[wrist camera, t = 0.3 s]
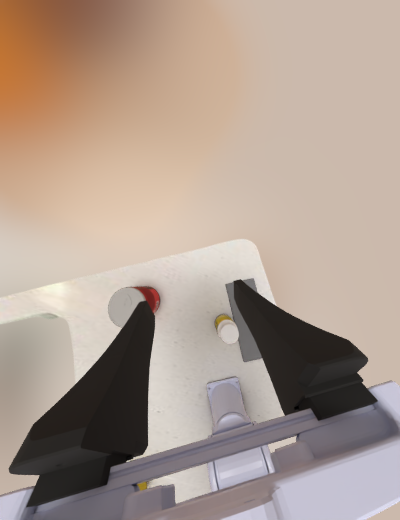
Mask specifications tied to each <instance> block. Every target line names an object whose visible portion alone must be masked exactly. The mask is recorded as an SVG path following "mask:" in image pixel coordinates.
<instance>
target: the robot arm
mask: <svg viewBox="0 0 400 520" xmlns="http://www.w3.org/2000/svg"><path fill="white" fill-rule="evenodd" d="M234 300H235V302H236V305H237V307H238V310H239V311H240V313H241V315H242V317H243V319H244V321H245V323H246V324H247V326H248V328H249V330H250V332H251V334H252V336H253V338H254V340H255V342H256V344H257V347H258V349H259V351H260V354H261V356H262V358H263V361H264V363H265V366H266V368H267V371H268V373H269V376H270V378H271V381H272V383H273V386H274V389H275V391H276V394H277V397H278V399H279V402H280V405H281V408H282V410H283V412H284V414H285V416H283V417H279V418H276V419H272V420H269V421H265V422H262V423H259V424H257V423H256V422H255V421H254V422H252V423H251V420H250V418H249V416H247V413H246V411H245V408H244V404H243V399H242V395H241V390H240V386H239V381H238V378H237V377H233V378H229V379H224V380H220V381H216V382H212V383H208V384H207V390H208V395H209V400H210V406H211V411H212V416H213V424H214V427H212V435H213V436H212V435H209V436H208V439H204V440H201V441H198V442H194V443H191V444H187V445H184V446H181V447H177V448H174V449H170V450H167V451H164V452H160V453H157V454H153V455H150V456H147V457H143V458H140V459H137V460H133V461H130V462H126V461H127V460H131V459H133V457H136V456H140V455H143V453H144V452H145V450H146V448H147V446H148V386H149V367H150V358H151V351H152V344H153V337H154V330H155V315H154V313H153V311H152V309H151V307H150V305H149V303H148V301H147V300H146V301H141V302H139V303H138V305H137V306H136V308H135V309H134V311H133V313H132V314H131V316H130V317H129V319H128V320H127V322H126V323H125V325H124V327H123V328H122V329H121V331H120V332H119V334H118V335H117V336H116V338H115V339H114V341H113V342H112V343H111V345H110V346H109V347H108V348H107V350H106V351H105V352H104V353H103V355H102V356H101V357H100V358H99V359H98V361H97V362H96V363H95V364H94V365H93V366H92V367H91V368H90V369H89V371H88V372H87V373H86V374H85V375H84V376H83V377H82V378H81V379H80V380H79V381H78V382H77V383H76V384H75V385H74V386H73V387H72V388H71V389H70V391H68V392H67V394H65V395H64V396H63V397H62V398H61V399H60V400H59V401H58V402H57V403H56V404H55V405H54V406H53V407H52V408H51V409H50V410H48V411H47V412H46V413H45V414H44V415H43V416H42V417H41V418H40V419H39V420H38V421H37V422H35V423H34V424H33V426H32V428H31V429H30V431H29V433H28V435H27V437H26V439H25V440H24V442H23V444H22V446H21V447H20V449H19V451H18V453H17V455H16V457H15V458H14V460H13V462H12V464H11V465H10V467H9V472H10V473H11V474H18V475H40V476H39V479H38V481H37V483H36V485H35V486H32V487H27V488H23V489H19V490H16V491H12V492H9V493H6V494H3V495H0V520H366V519H368V518H370V517H371V516H373V515H375V514H377V513H379V512H381V511H383V510H385V509H387V508H389V507H390V506H392V505H394V504H396V503H398V502H400V386H399V385H398V384H397V383H395V382H394V381H388V382H385V383H381V384H378V385H374V386H371V387H369V388H366V387H365V386H364V385H363V384H362V382H363V379H362V378H361V377H360V375H359V374H358V373H357V372H358V371H359V370H360V369H361V368H362V367H364V366H365V365H366V364H367V362H368V358H367V357H366V356H365V355H364V354H363V353H362V352H361V351H360V350H359V349H358V348H357V347H356V346H354V345H353V344H352V343H351V342H350V341H349V340H347V339H344V338H342V337H339V336H337V335H334V334H332V333H329V332H326V331H324V330H322V329H319V328H317V327H315V326H313V325H311V324H308V323H306V322H304V321H302V320H300V319H298V318H296V317H294V316H292V315H291V314H289V313H287V312H285V311H284V310H282V309H280V308H279V307H277V306H275V305H274V304H272V303H271V302H269V301H268V300H267V299H265V298H264V297H262V296H261V295H260V294H258V293H257V292H256V291H254V290H253V289H252V288H251V287H249V286H248V285H247V284H246V283H245V282H243V281H242V280H236V281H234ZM236 381H237V382H236ZM209 388H210V389H209ZM252 424H253V425H252ZM297 435H298V436H297ZM294 436H297V437H296V442H295V443H292V444H289V445H286V446H284V447H281V448H278V449H275V452H273V453H270V451H269V448H268V444H271V443H274V442H277V441H281V440H284V439H287V438H290V437H294ZM206 463H207V466H208V474H209V481H210V486H211V491H212V492H211V493H208V494H205V495H202V496H198V497H195V498H192V499H189V500H186V501H183V502H180V503H177V504H176V503H175V486H174V484H172V485H167V486H162V485H160V486H156V487H153V488H149V489H145V490H142V491H140V488H139V486H138V485H137V484H140V483H144V482H147V481H150V480H153V479H157V478H160V477H163V476H166V475H170V474H173V473H176V472H180V471H183V470H186V469H189V468H193V467H196V466H199V465H202V464H206Z"/></svg>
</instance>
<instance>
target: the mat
mask: <svg viewBox="0 0 400 520" xmlns="http://www.w3.org/2000/svg"><path fill="white" fill-rule="evenodd" d="M243 282H245V283H246V284H247V285H248V286H249V287H251V288H252V289H253V290H254V291H256V292H257V289H256V285H255V281H254V278H253V279H248V280H244V281H243ZM226 288H227V293H228V297H229V301H230V305H231V310H232V314H233V318H234V322H235V324H236V326H237V328H238V332H239V337H238V339H239V344H240V348H241V352H242V356H243V361H244V362H247V361H252V360H256V359H260V358H262V356H261V354H260V351H259V349H258V347H257V344H256V342H255V340H254V338H253V336H252V334H251V332H250V330H249V328H248V326H247V324H246V323H245V321H244V319H243V317H242V315H241V313H240V311H239V310H238V307H237V305H236V302H235V300H234V283H229V284H226Z"/></svg>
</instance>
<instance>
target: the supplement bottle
mask: <svg viewBox="0 0 400 520" xmlns="http://www.w3.org/2000/svg"><path fill="white" fill-rule="evenodd" d="M215 327H216V330H217V333H218V335H219V337H220V338H221V339H222V340H223V341H224V342H225V343H227V344H233V343H235V342H236V341H237V340H238V337H239V332H238V328H237V326H236V324H235V323H234V322H233V320H232V319H231V318H230V317H229V316H228V315H225V314H222V315H219V316H218V317H217V318H216V320H215Z"/></svg>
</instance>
